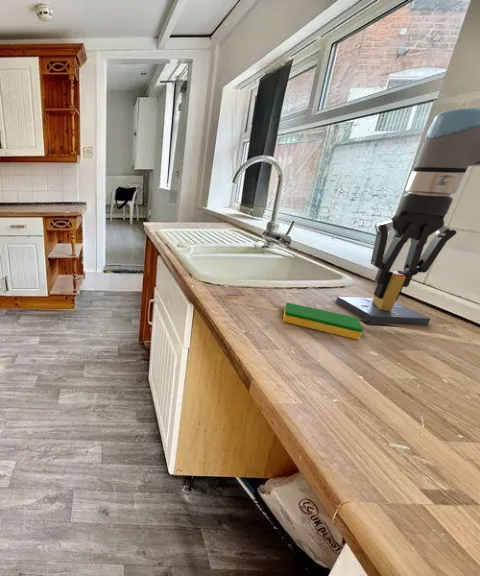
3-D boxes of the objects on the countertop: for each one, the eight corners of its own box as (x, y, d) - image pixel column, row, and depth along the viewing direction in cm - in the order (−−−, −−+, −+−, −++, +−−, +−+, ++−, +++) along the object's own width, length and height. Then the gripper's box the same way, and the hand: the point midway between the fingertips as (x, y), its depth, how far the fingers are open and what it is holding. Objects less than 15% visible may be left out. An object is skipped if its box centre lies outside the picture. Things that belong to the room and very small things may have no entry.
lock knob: (371, 302, 76) (385, 268, 73) (381, 303, 75) (395, 269, 72) (380, 309, 72) (395, 274, 68) (391, 311, 71) (406, 276, 68)
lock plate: (384, 307, 79) (388, 298, 78) (426, 328, 69) (431, 317, 68) (334, 305, 80) (337, 295, 79) (368, 325, 69) (372, 315, 68)
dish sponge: (283, 310, 75) (286, 301, 74) (354, 327, 68) (358, 317, 68) (282, 321, 69) (285, 312, 68) (359, 340, 63) (363, 330, 62)
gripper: (391, 193, 63) (352, 297, 72) (490, 198, 58) (435, 309, 67) (376, 191, 70) (341, 286, 78) (464, 195, 65) (416, 297, 73)
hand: (384, 297), depth 73 cm, fingers closed on lock knob, 2 cm apart
